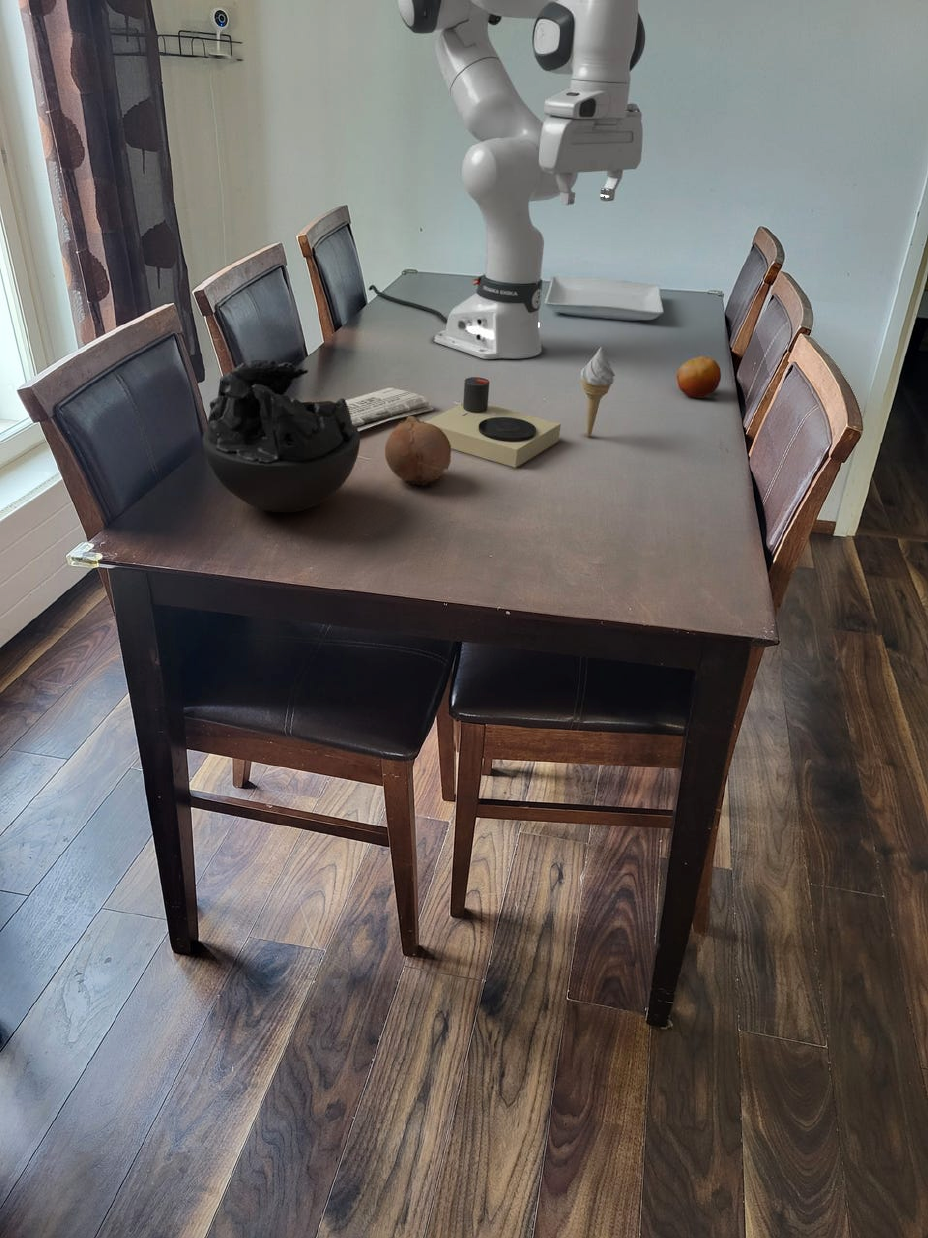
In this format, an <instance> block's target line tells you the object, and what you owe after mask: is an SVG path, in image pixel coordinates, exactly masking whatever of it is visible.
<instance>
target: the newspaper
mask: <svg viewBox="0 0 928 1238" xmlns="http://www.w3.org/2000/svg"><path fill="white" fill-rule="evenodd" d="M345 401H346V403H347V406H348V409H349V412H350V416H351V421H352V424H353V425H354V426H355V427H356V428H357V430H358V431H359V432H361V431H364V430H366V429H369V428H371V427H374V426H377V425H380V424H383V423H386V422H388V421H392V420H396V419H400V418H404V417H408V416H413V415H418V414H422V413H427V412H430V411H434V408H433V407H432V406H431V405H429V401H428V399H427V398H426V397H425V396H424V395H420V394H417V393H415V392H411V391H408V390H403V389H399V388H394V387H385V388H382V389H379V390H376V391H372V392H369V393H365V394H362V395H358V396H354V397H352V398H348V399H345Z"/></svg>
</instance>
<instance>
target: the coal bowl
mask: <svg viewBox="0 0 928 1238" xmlns="http://www.w3.org/2000/svg"><path fill="white" fill-rule="evenodd" d="M308 373H309V370H308V369H305V368H302V367H298V366H295V365H294V364H293V363H291V362H288V361H286V362H285V361H284V362H282V363H276V361H275V359H272V358H271V359H262V360H261V359H254V360H251V362H250V364H249V365H247V364H246V363H245V362H244V361H243V362H241V363H240V364H239V365H237V366H236V367H234V368H233V370H232V371H228V372H227V373H225V374H224V375H222V376H221V377H220V379H219V385H218V391H217V397H216V398H213V400H211V401H210V402H209V408H210V411H209V415H208V419H207V424H206V425H207V426H206V429H205V430H204V431H203V434H202V439H201V440H202V446H203V451H204V454H205V457H206V459H207V462H208V464H209V466H210V468H211V469H212V471H213V473H214V475H215V476H216V478H217V479H218V480H219V482H220V483H221V484H222V485H223V486H224V487H225V488H226V489H227V490H228V491H229V492H230V493H231V494H232V495H234V496H235V497H236V498H237V499H239V500H241V501H242V502H244V503H246V504H248V505H250V506H252V507H255V508H257V509H260V510H264V511H269V512H275V513H294V512H300V511H304V510H308V509H310V508H313V507H315V506H318V505H319V504H321V503H323V502H325V501H326V500H328V499H329V498H331V497H332V496H333V495H334V494H335V493H337V492H338V491H339V489H341V487H342V486H344V484H345V482H346V481H347V480H348V479H349V476H350V475H351V474H352V471H353V469H354V467H355V465H356V462H357V458H358V455H359V450H360V445H361V435H360V431H358V430H357V428H356V427H355V426H354V425H353V424H352V421H351V416H350V412H349V409H348V406H347V403H346V401H345V400H346V399H345V398H344V397H342V398H339V399H338V400H337V401H336V402H334V401H331V400H323V401H322V400H321V401H300V400H298V399H297V398H290V396H288V395H285V394H286V393H287V392H288V390H289V389H290V388H291V386H292V384H293V382H294V380H295V379H299V378H301V377H302V376H304V375H306V374H308Z"/></svg>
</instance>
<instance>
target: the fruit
mask: <svg viewBox="0 0 928 1238" xmlns="http://www.w3.org/2000/svg"><path fill="white" fill-rule="evenodd" d="M721 380H722V371H721V367H720V364H718V362H717V361H716V360H715V359H714V358H713V357H708V356H699V357H693V358H692V359H689V360H688V361H686V362H685V363H682V365H681V366H680V367H679V368H678V369H677V371H676V381H677V386H678V388H679V389H680V391H681V392H682V393H683V394H684V395H685V396H687V397H689V398H692V399H702V398H704V399H705V398H707V399H708V398H709V399H712V396H713V395H714V393H715V392H716V390H717V389H718V387H719V385H720V382H721Z"/></svg>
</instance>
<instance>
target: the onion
mask: <svg viewBox="0 0 928 1238" xmlns="http://www.w3.org/2000/svg"><path fill="white" fill-rule="evenodd" d="M406 417H407V418H406V419H403V420H400V422H399V424H398V425H397V426H396V427H395V428H394V429H393V430H392V432H391V433H390V434H389V436H388V438H387V440H386V442H385V445H384V446H385V447H384V456H385V461H386V463H387V465H388V467H389V468H390V470H391V471H392V472H393V473H394V474H395V475H396V476H397V477H398V478H399V479H402V480H404V481H405V482H408V483H409V484H412V485H413V486H419V485H420V486H427V485H428V484H430V483H431V484H432V482H434V481H435V480H439V479H440V476H441V475H442V474H443V472H444V471H445V470H448V469H449V467H450V465H451V461H452V460H451V458H452V449H451V445H450V442H449V440H448V438H447V436H446V435H445V434H444V432H443V431H442V430H441V429H439V428H438V427H437V426H435V425H432V424H429V423H425V422H426V421H424V420H423V421H422V420H420V419H419V418H418V417H416V416H413V415H409V416H406Z"/></svg>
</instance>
